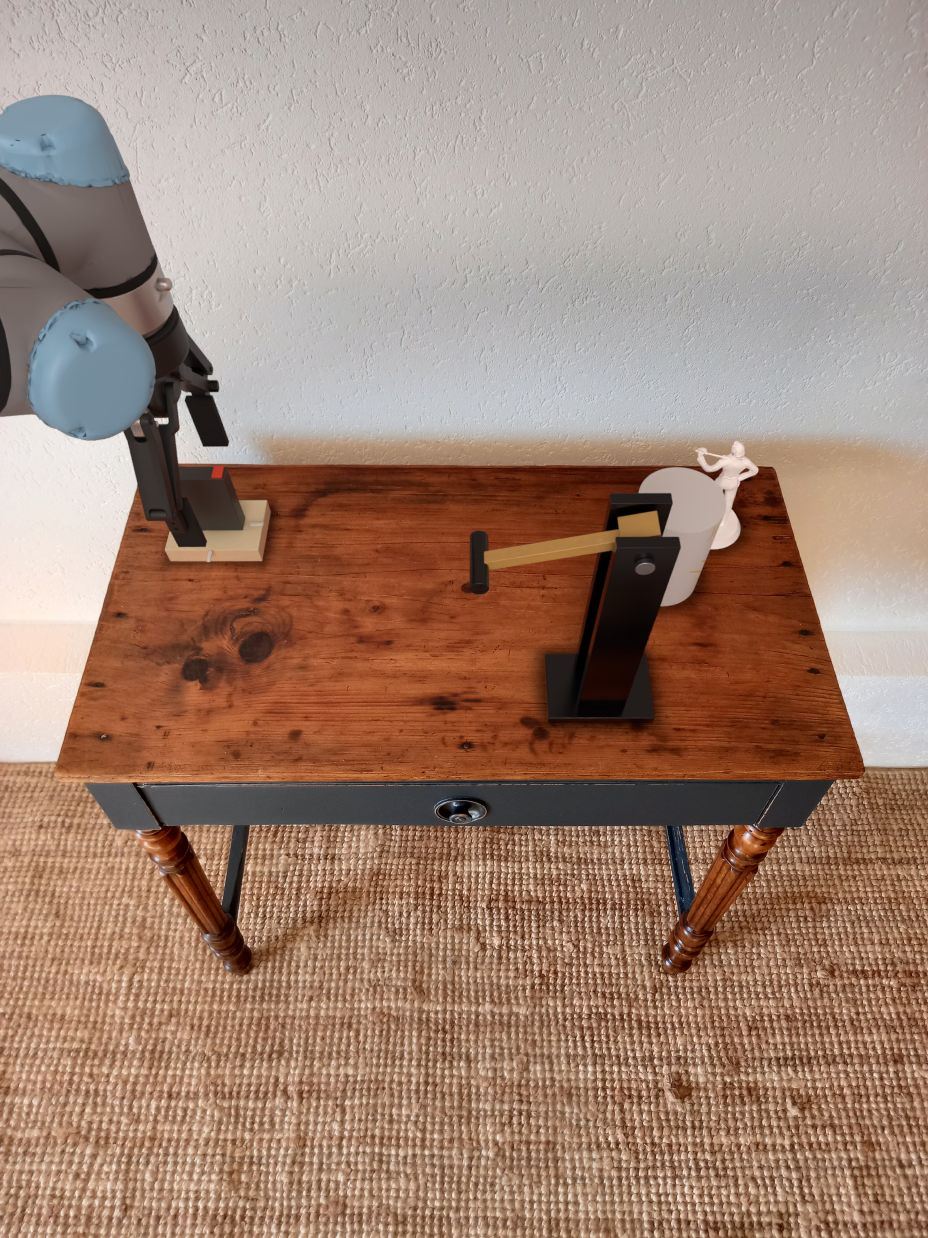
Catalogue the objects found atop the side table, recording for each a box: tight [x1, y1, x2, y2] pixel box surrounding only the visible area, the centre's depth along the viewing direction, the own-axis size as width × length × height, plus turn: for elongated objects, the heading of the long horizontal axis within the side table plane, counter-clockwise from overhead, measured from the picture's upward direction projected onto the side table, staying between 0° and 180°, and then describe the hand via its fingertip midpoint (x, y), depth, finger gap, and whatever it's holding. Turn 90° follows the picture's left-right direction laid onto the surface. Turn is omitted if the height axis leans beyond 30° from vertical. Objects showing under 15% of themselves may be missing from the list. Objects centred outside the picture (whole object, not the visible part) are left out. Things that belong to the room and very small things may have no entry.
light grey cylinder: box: [638, 466, 726, 607], centre depth 80 cm, size 8×8×12 cm
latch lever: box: [469, 511, 661, 595], centre depth 59 cm, size 14×5×2 cm, turn 90°
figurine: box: [694, 440, 759, 550], centre depth 84 cm, size 7×7×12 cm
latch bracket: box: [543, 492, 681, 724], centre depth 67 cm, size 10×7×26 cm
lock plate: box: [164, 499, 272, 563], centre depth 88 cm, size 10×10×2 cm
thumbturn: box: [179, 465, 245, 530], centre depth 84 cm, size 6×2×8 cm, turn 90°
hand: (205, 492), depth 83 cm, fingers open, 13 cm apart
